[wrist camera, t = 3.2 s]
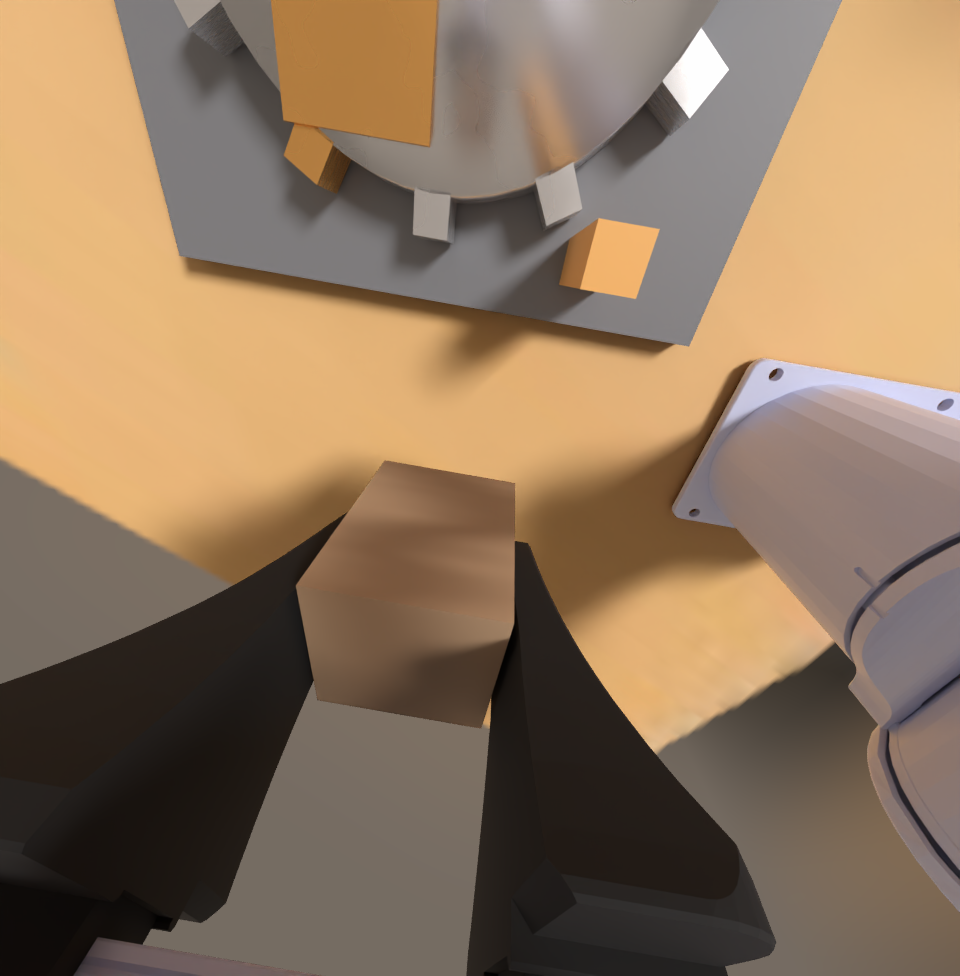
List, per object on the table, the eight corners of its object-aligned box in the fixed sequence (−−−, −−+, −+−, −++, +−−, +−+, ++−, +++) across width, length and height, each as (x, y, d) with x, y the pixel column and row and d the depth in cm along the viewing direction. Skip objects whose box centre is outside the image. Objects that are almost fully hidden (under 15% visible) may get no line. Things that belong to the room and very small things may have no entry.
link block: (514, 483, 11) (514, 623, 6) (492, 576, 13) (480, 728, 8) (384, 460, 11) (295, 585, 6) (384, 557, 13) (317, 700, 8)
